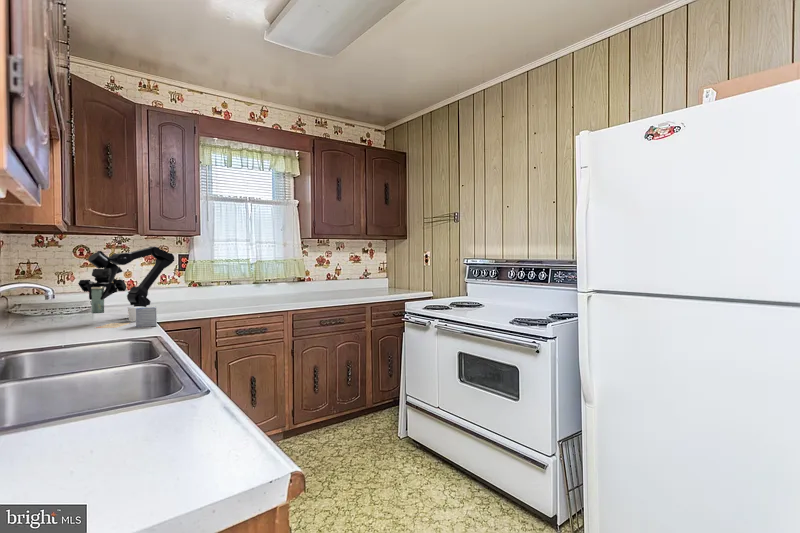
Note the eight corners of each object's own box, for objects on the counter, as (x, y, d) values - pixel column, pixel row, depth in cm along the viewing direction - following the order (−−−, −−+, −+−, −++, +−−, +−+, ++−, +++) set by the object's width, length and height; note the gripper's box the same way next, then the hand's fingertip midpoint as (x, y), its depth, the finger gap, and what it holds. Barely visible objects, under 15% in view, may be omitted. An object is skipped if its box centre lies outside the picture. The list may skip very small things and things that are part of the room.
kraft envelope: (110, 323, 198) (110, 323, 198) (131, 323, 199) (131, 322, 199) (93, 328, 184) (93, 327, 184) (115, 328, 186) (115, 327, 186)
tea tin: (95, 312, 199) (94, 286, 199) (106, 312, 200) (106, 286, 200) (88, 313, 195) (88, 287, 194) (100, 313, 195) (100, 287, 195)
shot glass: (141, 319, 212) (141, 305, 212) (146, 321, 208) (146, 306, 207) (125, 321, 207) (125, 307, 207) (130, 322, 202) (130, 308, 202)
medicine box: (156, 325, 195) (156, 306, 195) (156, 326, 191) (156, 307, 191) (136, 326, 192) (136, 307, 191) (135, 327, 188) (135, 308, 188)
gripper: (80, 262, 199) (65, 287, 189) (123, 262, 202) (111, 287, 191) (90, 278, 207) (76, 303, 197) (131, 278, 210) (120, 303, 199)
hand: (96, 299), depth 196 cm, fingers closed on tea tin, 5 cm apart
